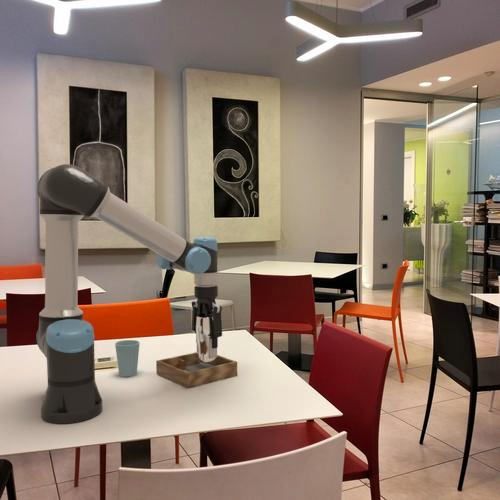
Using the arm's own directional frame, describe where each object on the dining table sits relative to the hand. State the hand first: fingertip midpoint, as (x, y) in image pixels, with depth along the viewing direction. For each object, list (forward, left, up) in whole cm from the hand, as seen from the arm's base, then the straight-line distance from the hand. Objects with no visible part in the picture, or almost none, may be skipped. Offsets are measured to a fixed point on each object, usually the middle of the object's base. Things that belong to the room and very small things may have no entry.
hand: (206, 355), depth 168 cm
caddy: (-4, 0, -6) cm, 7 cm away
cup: (-21, +15, -6) cm, 26 cm away
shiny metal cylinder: (0, 0, -2) cm, 2 cm away
